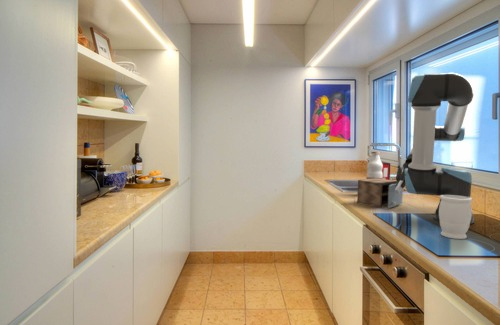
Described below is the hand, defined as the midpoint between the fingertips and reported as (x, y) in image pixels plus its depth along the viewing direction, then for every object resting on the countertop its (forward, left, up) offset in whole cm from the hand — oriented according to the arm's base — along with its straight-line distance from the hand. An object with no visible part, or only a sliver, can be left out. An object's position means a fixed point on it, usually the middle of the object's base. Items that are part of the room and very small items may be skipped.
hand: (397, 191), depth 173 cm
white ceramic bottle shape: (+28, -23, -9) cm, 38 cm away
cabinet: (+13, -4, -9) cm, 17 cm away
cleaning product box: (+38, -43, -9) cm, 59 cm away
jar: (-39, +28, -9) cm, 48 cm away
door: (+2, -5, -8) cm, 10 cm away
